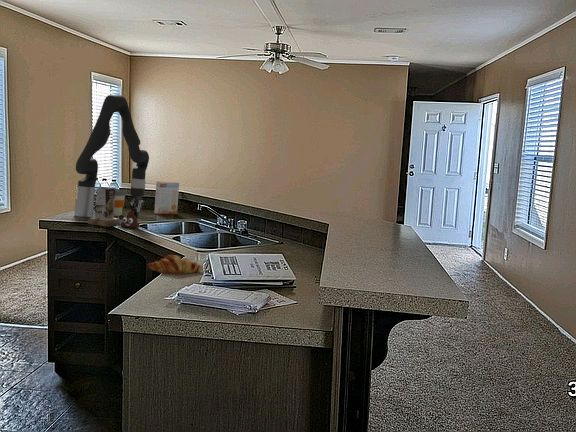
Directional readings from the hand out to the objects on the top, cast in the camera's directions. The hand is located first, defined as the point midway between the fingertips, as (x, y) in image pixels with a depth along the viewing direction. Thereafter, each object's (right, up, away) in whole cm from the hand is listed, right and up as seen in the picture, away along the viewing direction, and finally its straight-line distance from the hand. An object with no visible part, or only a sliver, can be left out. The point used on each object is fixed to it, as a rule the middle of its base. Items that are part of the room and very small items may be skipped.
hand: (135, 218), depth 323 cm
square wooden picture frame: (-17, -3, -2) cm, 17 cm away
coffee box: (-16, 0, -3) cm, 16 cm away
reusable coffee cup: (-23, +2, +37) cm, 43 cm away
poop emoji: (-2, -5, -4) cm, 6 cm away
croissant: (+40, -20, -97) cm, 106 cm away
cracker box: (+3, +3, +65) cm, 65 cm away
